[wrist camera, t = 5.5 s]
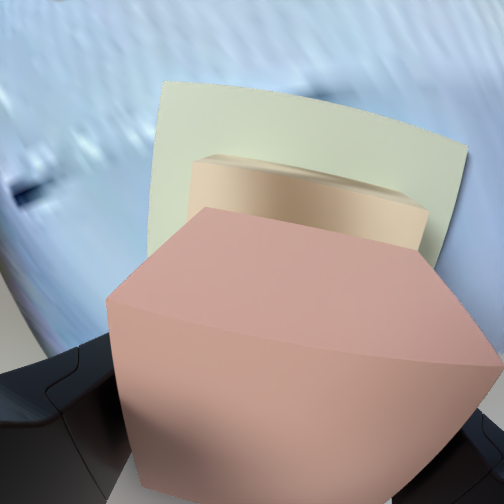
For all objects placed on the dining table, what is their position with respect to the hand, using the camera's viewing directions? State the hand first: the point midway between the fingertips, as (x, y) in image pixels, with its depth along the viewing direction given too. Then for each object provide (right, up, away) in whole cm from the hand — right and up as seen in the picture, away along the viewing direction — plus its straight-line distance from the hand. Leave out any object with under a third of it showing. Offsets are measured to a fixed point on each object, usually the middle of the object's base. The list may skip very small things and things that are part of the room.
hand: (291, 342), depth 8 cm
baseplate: (+1, +2, +6) cm, 7 cm away
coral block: (0, 0, +1) cm, 1 cm away
